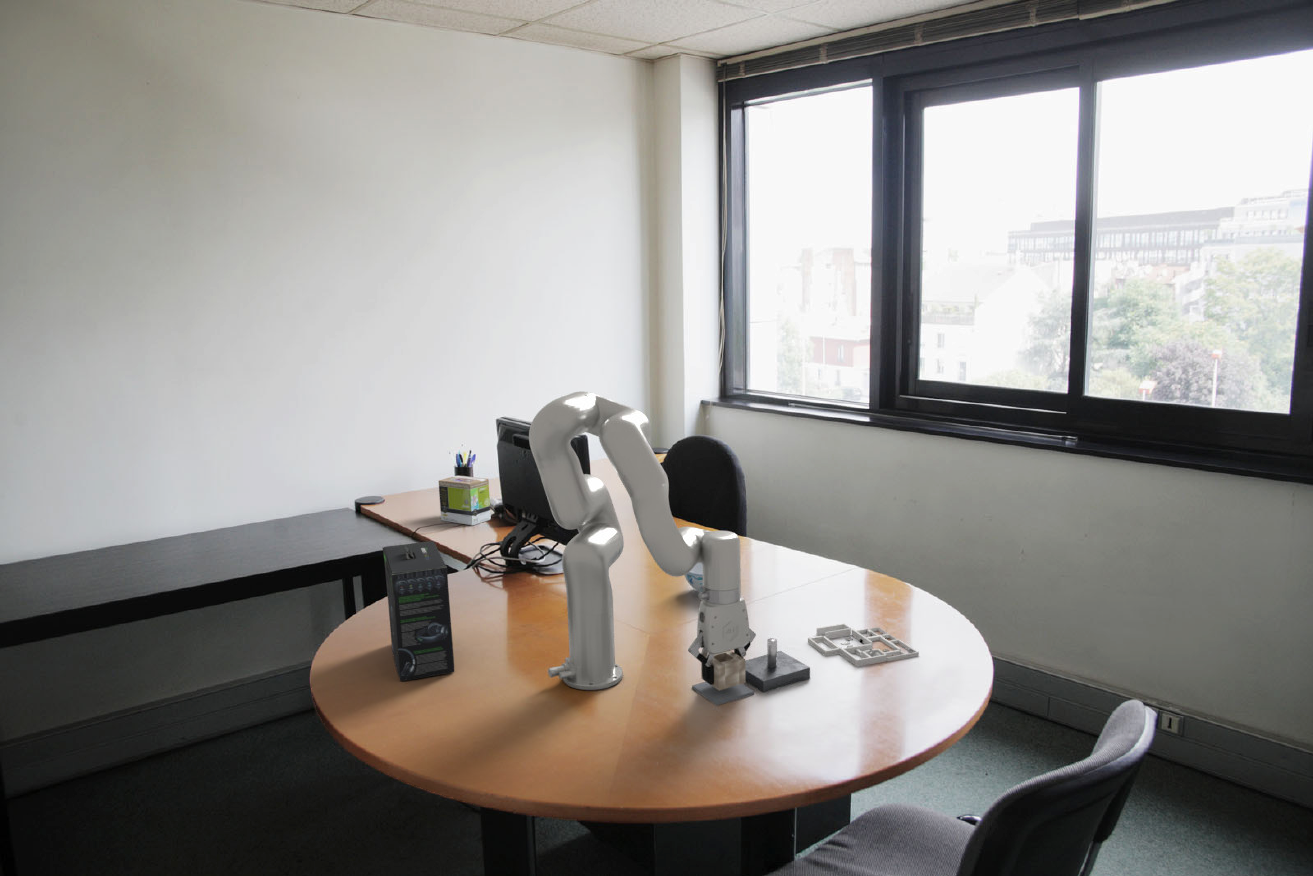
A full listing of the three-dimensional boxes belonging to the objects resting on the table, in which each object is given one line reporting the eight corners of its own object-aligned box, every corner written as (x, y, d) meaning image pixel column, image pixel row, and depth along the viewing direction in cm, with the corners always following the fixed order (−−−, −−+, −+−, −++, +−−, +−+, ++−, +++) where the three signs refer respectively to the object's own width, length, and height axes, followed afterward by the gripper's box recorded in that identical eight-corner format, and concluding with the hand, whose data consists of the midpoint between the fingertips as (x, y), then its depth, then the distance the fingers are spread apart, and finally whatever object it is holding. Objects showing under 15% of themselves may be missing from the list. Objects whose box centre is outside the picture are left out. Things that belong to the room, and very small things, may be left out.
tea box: (492, 519, 319) (489, 478, 316) (471, 526, 310) (469, 484, 308) (460, 514, 327) (457, 474, 324) (440, 521, 318) (437, 479, 316)
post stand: (763, 692, 184) (763, 655, 183) (735, 674, 193) (734, 638, 191) (809, 678, 190) (810, 642, 189) (780, 661, 199) (780, 626, 197)
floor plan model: (777, 642, 210) (777, 634, 209) (872, 626, 218) (872, 618, 217) (817, 675, 192) (817, 667, 192) (918, 657, 200) (919, 648, 200)
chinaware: (747, 587, 245) (747, 560, 244) (727, 606, 232) (727, 577, 230) (695, 580, 251) (695, 553, 250) (673, 598, 238) (673, 570, 237)
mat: (716, 705, 179) (716, 702, 179) (692, 688, 187) (692, 685, 187) (753, 694, 184) (753, 691, 184) (728, 677, 191) (728, 675, 191)
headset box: (389, 644, 213) (381, 537, 208) (442, 635, 217) (434, 531, 212) (398, 683, 192) (389, 566, 188) (456, 673, 196) (448, 558, 192)
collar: (719, 690, 181) (718, 666, 180) (701, 678, 186) (701, 655, 185) (745, 682, 184) (745, 659, 183) (727, 671, 189) (727, 648, 188)
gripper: (695, 608, 174) (697, 695, 177) (768, 590, 183) (768, 674, 186) (674, 596, 180) (677, 681, 184) (746, 580, 189) (747, 661, 192)
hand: (723, 677), depth 185 cm, fingers closed on collar, 6 cm apart
